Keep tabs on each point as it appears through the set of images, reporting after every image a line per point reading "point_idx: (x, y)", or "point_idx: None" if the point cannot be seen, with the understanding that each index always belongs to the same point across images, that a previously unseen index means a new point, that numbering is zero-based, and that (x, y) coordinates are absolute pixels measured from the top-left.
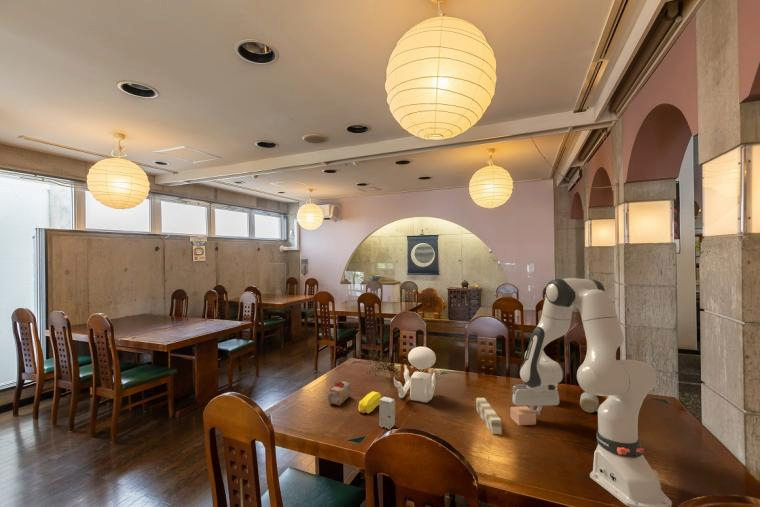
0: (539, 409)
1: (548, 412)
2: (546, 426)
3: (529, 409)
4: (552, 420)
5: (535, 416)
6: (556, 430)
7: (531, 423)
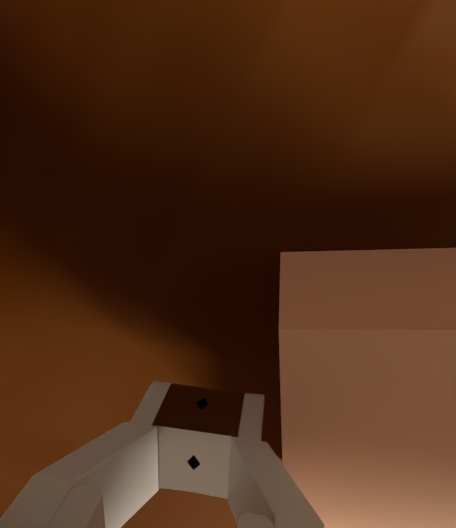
0: (118, 454)
1: (3, 488)
2: (161, 174)
3: None
4: (20, 325)
5: (289, 299)
6: (66, 29)
7: (358, 256)
